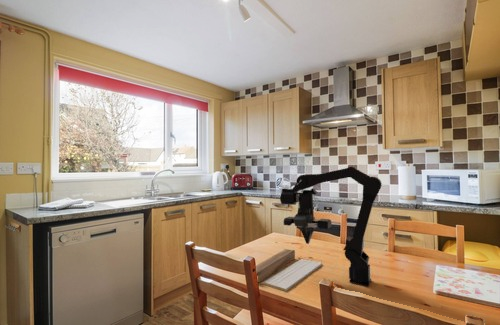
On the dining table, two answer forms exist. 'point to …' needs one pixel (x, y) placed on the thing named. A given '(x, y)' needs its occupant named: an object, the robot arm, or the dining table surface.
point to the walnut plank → (274, 263)
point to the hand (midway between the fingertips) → (307, 243)
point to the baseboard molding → (292, 274)
